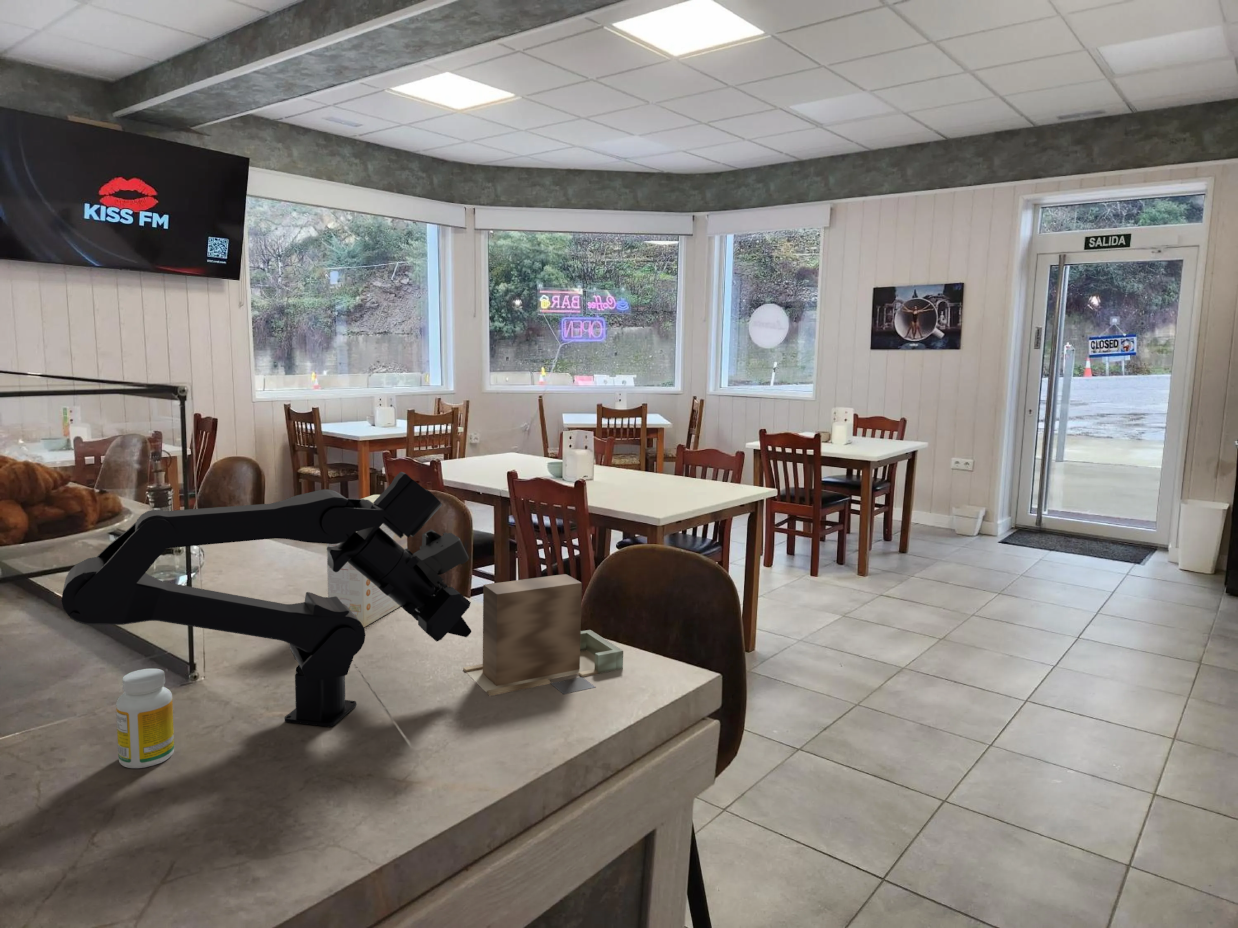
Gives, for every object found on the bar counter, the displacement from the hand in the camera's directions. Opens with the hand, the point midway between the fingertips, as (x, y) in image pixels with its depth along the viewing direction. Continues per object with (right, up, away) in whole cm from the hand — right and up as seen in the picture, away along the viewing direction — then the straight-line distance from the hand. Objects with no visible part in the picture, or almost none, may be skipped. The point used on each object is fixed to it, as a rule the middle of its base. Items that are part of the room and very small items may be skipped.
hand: (468, 633), depth 111 cm
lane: (+9, -7, +7) cm, 13 cm away
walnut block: (+8, -7, +6) cm, 12 cm away
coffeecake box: (-23, -3, +30) cm, 38 cm away
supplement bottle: (-32, -10, -21) cm, 39 cm away
